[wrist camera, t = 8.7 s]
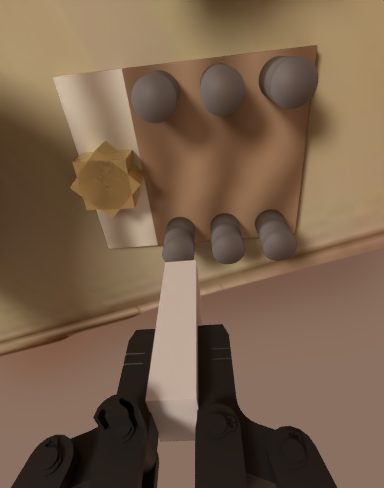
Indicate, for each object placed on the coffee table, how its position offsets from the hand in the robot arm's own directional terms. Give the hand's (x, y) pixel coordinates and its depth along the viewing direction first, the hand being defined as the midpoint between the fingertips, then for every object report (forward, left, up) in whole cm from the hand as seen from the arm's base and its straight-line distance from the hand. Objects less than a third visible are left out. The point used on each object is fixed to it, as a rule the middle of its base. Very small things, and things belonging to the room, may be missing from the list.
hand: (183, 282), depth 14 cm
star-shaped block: (-8, 0, -17) cm, 19 cm away
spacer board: (0, 0, -18) cm, 18 cm away
